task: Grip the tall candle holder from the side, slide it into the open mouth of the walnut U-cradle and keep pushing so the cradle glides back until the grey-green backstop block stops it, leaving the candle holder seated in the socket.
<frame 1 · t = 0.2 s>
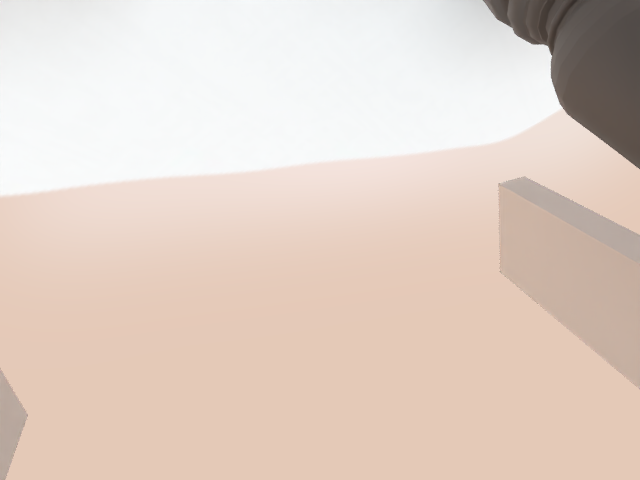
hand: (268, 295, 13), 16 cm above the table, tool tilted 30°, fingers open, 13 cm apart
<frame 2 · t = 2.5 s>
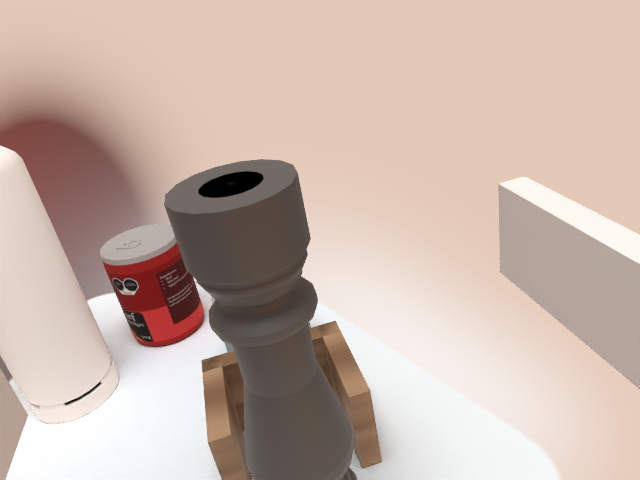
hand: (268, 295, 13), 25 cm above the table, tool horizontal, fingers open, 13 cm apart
cradle: (288, 409, 39), point 3 cm above the table, slide at 0.0 cm
canned food: (171, 327, 58), on the table
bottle: (78, 392, 51), on the table
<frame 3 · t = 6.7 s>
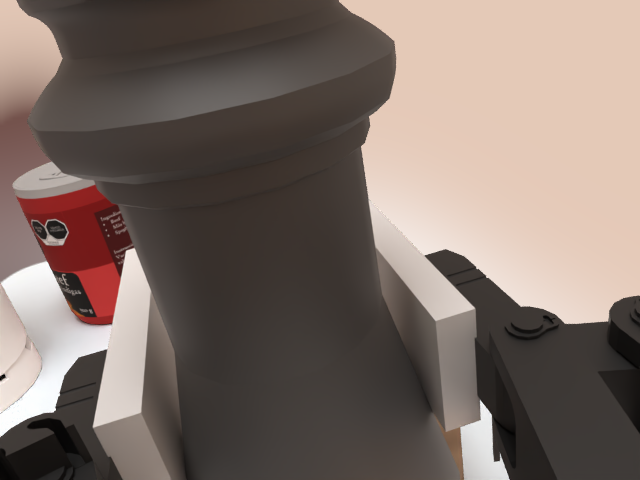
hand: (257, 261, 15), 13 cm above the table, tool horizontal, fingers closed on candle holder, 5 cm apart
cradle: (295, 415, 22), point 3 cm above the table, slide at 0.0 cm
canned food: (127, 299, 41), on the table
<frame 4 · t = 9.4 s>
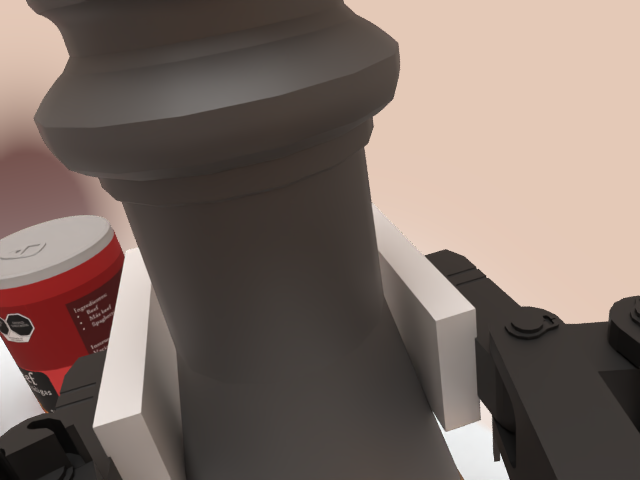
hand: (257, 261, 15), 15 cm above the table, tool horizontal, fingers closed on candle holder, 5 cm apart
canned food: (109, 388, 35), on the table
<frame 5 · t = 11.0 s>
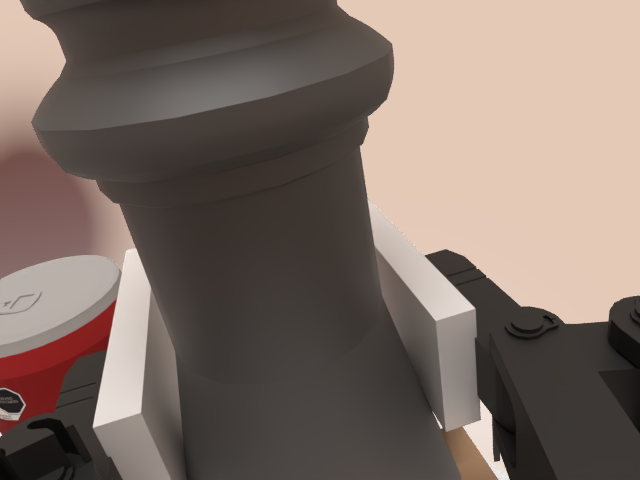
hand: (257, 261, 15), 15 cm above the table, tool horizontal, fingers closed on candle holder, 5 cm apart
canned food: (117, 457, 29), on the table
when the fingers open (13 cm above the table, at t = 12.2 s): candle holder stays where it is, on the table.
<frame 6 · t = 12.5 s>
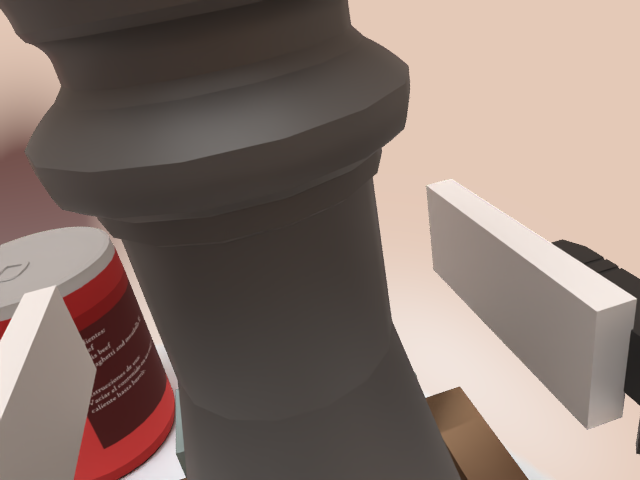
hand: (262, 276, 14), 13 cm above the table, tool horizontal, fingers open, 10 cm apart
canned food: (109, 437, 29), on the table
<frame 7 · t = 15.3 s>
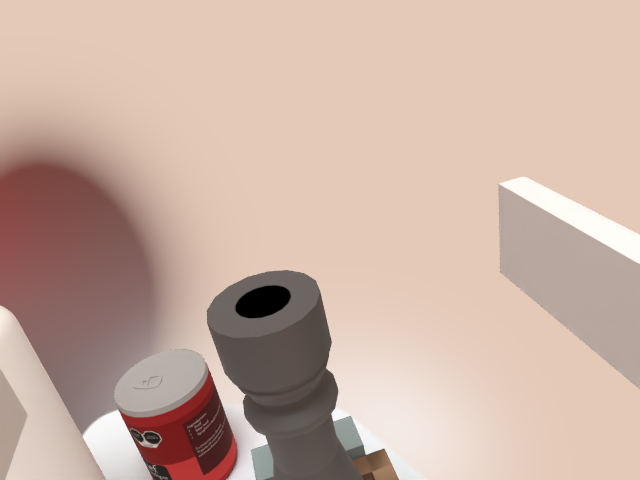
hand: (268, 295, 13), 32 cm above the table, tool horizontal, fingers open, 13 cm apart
canned food: (198, 466, 49), on the table
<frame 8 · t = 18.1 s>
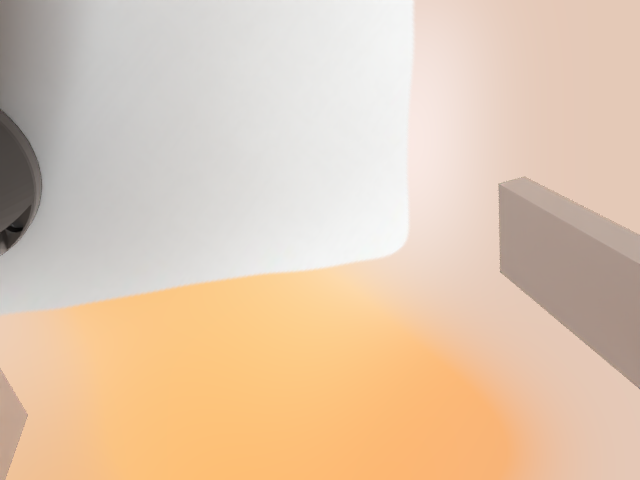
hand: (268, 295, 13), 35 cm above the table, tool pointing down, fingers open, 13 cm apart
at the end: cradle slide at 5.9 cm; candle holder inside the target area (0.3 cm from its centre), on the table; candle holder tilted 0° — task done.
